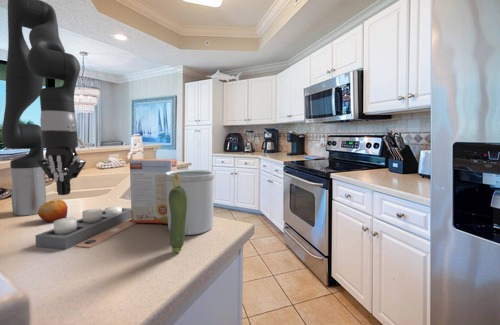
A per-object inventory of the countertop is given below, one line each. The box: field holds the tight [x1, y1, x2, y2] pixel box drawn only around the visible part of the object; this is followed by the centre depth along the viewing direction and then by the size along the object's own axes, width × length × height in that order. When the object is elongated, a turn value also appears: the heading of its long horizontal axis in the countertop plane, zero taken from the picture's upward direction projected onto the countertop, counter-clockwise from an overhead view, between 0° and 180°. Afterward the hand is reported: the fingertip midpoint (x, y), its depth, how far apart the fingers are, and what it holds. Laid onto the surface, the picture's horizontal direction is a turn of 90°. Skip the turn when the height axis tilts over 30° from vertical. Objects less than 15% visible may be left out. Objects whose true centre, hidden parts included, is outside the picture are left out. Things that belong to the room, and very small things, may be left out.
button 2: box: [104, 205, 123, 215], centre depth 85 cm, size 5×5×3 cm
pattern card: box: [74, 218, 139, 249], centre depth 75 cm, size 4×23×1 cm, turn 170°
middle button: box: [81, 208, 103, 224], centre depth 76 cm, size 5×5×3 cm
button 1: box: [53, 217, 78, 235], centre depth 67 cm, size 5×5×3 cm
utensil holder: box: [165, 169, 216, 236], centre depth 77 cm, size 15×15×18 cm
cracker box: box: [129, 158, 178, 225], centre depth 82 cm, size 14×6×21 cm, turn 84°
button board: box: [34, 207, 132, 250], centre depth 76 cm, size 9×27×3 cm, turn 170°
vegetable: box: [169, 172, 187, 254], centre depth 61 cm, size 4×4×20 cm
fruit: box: [37, 199, 68, 223], centre depth 85 cm, size 8×8×8 cm
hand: (64, 194), depth 66 cm, fingers closed
